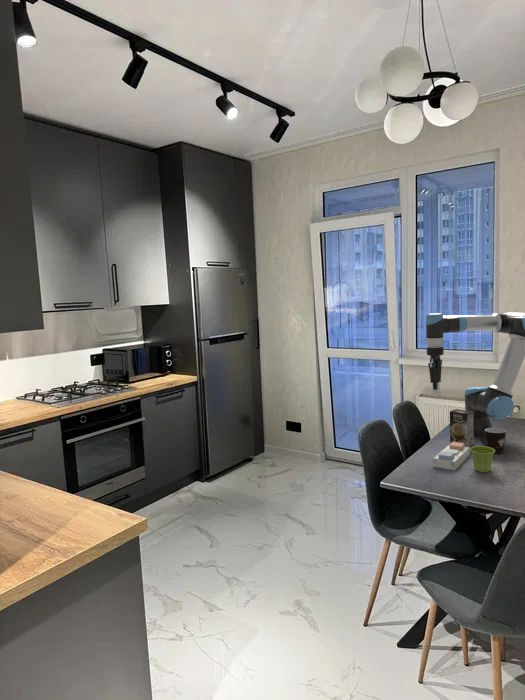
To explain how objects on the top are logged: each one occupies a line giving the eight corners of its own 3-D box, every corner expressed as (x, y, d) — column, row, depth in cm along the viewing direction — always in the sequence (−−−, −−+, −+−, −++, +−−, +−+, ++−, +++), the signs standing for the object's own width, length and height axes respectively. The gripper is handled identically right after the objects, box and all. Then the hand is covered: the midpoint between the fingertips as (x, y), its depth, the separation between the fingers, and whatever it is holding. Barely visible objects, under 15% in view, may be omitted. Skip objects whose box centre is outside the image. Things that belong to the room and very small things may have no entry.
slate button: (442, 457, 219) (442, 451, 219) (454, 459, 216) (454, 452, 216) (438, 461, 215) (438, 454, 215) (450, 463, 212) (450, 456, 212)
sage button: (448, 455, 225) (447, 448, 225) (459, 456, 222) (459, 450, 222) (444, 458, 221) (444, 451, 221) (456, 460, 218) (455, 453, 218)
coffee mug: (502, 448, 233) (501, 427, 232) (509, 454, 225) (508, 432, 224) (475, 449, 234) (475, 428, 233) (481, 455, 226) (481, 433, 225)
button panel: (449, 451, 233) (449, 444, 233) (469, 454, 228) (469, 447, 227) (433, 466, 216) (433, 458, 216) (454, 470, 211) (454, 462, 210)
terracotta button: (453, 448, 231) (453, 441, 231) (464, 449, 228) (464, 443, 228) (449, 451, 227) (449, 444, 227) (461, 452, 224) (461, 446, 224)
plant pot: (492, 466, 212) (492, 446, 211) (497, 474, 203) (497, 453, 202) (468, 465, 214) (468, 446, 213) (472, 473, 205) (472, 453, 204)
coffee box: (449, 443, 245) (448, 411, 243) (456, 440, 249) (455, 408, 247) (467, 447, 238) (466, 413, 236) (474, 444, 242) (473, 411, 240)
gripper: (431, 344, 244) (433, 392, 247) (422, 348, 234) (423, 398, 237) (447, 345, 240) (448, 393, 243) (438, 348, 230) (439, 399, 232)
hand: (436, 396), depth 240 cm, fingers closed
